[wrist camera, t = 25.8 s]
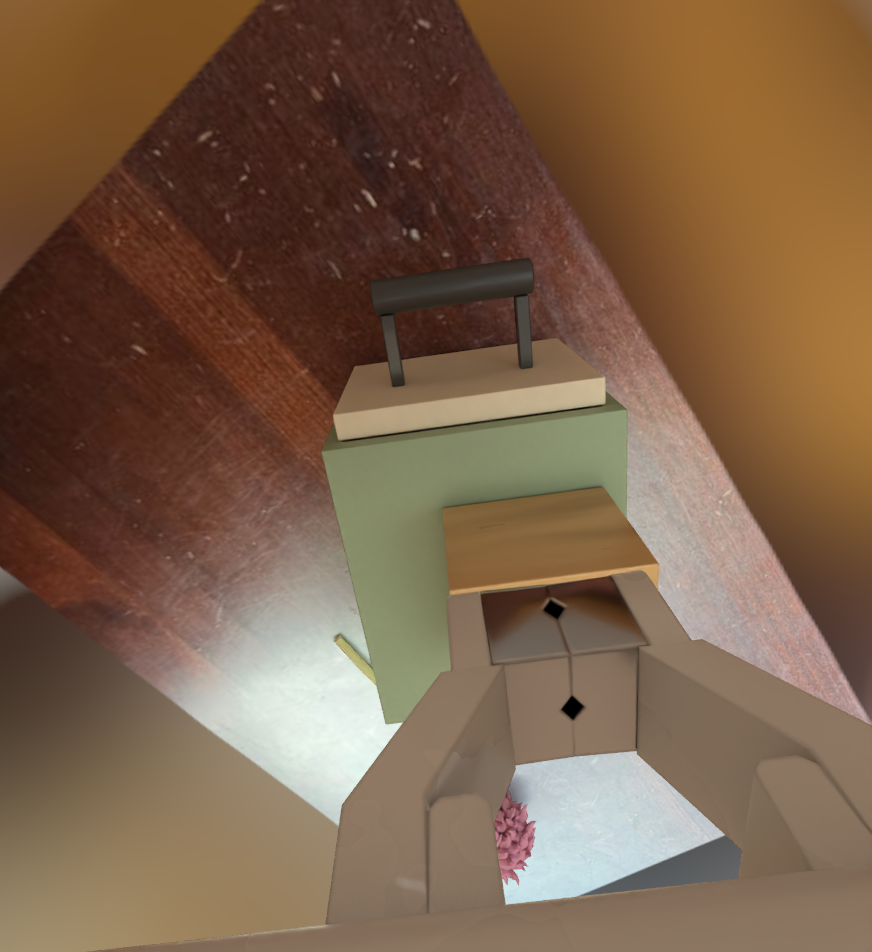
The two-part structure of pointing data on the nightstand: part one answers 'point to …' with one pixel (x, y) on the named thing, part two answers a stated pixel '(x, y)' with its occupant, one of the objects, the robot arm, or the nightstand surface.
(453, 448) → the cabinet
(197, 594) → the nightstand surface
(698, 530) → the nightstand surface
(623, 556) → the riser
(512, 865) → the artificial flower
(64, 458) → the nightstand surface
